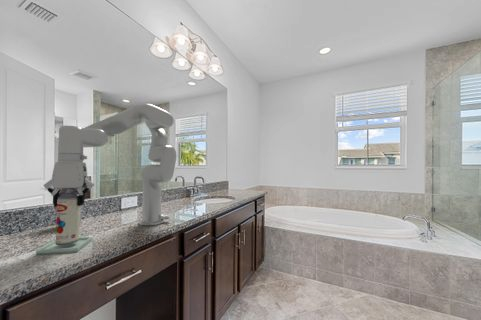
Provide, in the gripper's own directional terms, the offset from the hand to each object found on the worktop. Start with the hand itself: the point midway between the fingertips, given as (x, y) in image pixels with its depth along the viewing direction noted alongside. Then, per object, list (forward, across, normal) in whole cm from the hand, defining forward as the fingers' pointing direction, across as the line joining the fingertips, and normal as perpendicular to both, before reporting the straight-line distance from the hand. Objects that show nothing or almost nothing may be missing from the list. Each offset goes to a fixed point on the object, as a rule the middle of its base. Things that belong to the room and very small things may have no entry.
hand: (68, 205), depth 79 cm
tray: (+16, 0, 0) cm, 16 cm away
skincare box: (+16, +13, -30) cm, 36 cm away
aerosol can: (+14, 0, 0) cm, 14 cm away
